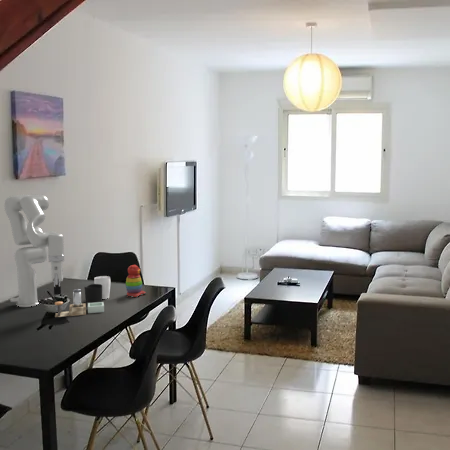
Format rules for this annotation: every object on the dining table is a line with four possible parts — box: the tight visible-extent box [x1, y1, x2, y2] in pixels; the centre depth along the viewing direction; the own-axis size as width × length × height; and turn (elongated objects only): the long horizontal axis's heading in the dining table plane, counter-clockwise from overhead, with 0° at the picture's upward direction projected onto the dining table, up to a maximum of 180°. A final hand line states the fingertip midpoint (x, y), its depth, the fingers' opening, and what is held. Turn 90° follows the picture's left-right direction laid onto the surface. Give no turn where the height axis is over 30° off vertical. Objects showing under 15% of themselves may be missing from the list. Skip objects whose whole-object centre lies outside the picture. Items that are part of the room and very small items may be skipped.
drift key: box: [54, 300, 64, 312], centre depth 280 cm, size 4×4×4 cm
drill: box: [72, 288, 83, 307], centre depth 282 cm, size 4×4×12 cm
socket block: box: [54, 302, 87, 318], centre depth 282 cm, size 15×9×6 cm, turn 103°
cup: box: [93, 275, 112, 300], centre depth 315 cm, size 9×9×12 cm
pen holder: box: [83, 283, 103, 305], centre depth 303 cm, size 9×9×10 cm
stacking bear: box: [125, 264, 147, 297], centre depth 321 cm, size 11×10×18 cm
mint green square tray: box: [87, 301, 105, 314], centre depth 287 cm, size 8×8×4 cm
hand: (57, 294), depth 280 cm, fingers closed
